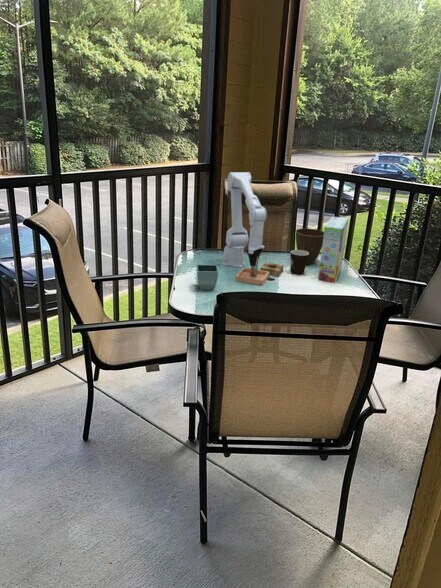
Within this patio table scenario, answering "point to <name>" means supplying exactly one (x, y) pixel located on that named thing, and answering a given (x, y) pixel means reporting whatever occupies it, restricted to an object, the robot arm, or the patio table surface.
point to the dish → (246, 278)
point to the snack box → (333, 249)
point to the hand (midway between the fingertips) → (253, 264)
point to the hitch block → (273, 269)
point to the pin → (254, 269)
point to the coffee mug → (298, 261)
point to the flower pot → (207, 276)
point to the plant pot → (309, 243)
